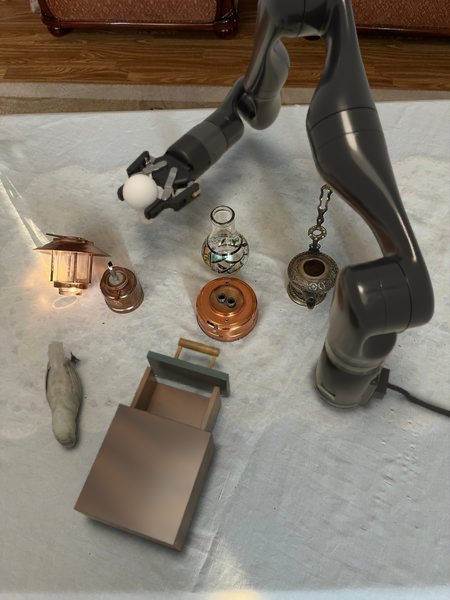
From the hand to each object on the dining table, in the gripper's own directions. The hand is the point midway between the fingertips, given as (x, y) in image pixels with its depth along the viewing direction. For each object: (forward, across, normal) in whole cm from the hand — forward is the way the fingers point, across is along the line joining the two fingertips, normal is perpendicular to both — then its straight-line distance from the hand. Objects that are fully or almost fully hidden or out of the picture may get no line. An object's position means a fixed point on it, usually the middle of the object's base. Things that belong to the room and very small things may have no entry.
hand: (132, 206), depth 91 cm
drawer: (+18, +27, +14) cm, 35 cm away
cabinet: (+30, +32, +15) cm, 46 cm away
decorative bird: (+30, +11, +15) cm, 35 cm away
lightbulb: (-2, 0, +7) cm, 7 cm away
